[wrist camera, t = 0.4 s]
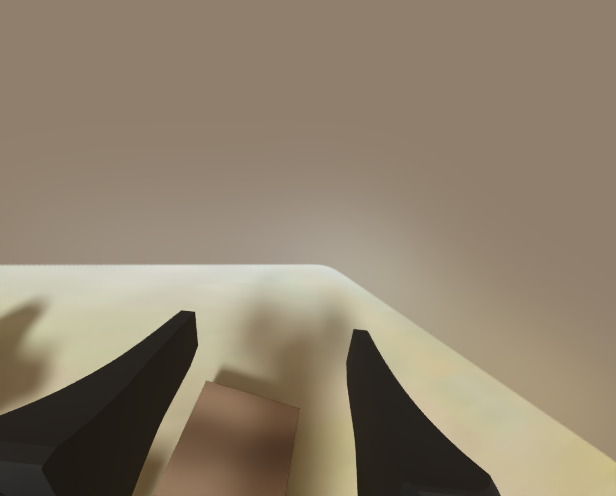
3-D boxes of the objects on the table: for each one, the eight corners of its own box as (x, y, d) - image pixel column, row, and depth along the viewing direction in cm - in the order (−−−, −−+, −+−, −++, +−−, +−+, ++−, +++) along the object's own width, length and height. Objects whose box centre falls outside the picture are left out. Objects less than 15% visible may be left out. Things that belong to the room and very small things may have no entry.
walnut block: (267, 549, 22) (277, 540, 20) (151, 517, 22) (149, 504, 20) (290, 424, 30) (299, 408, 28) (203, 398, 29) (206, 380, 27)
